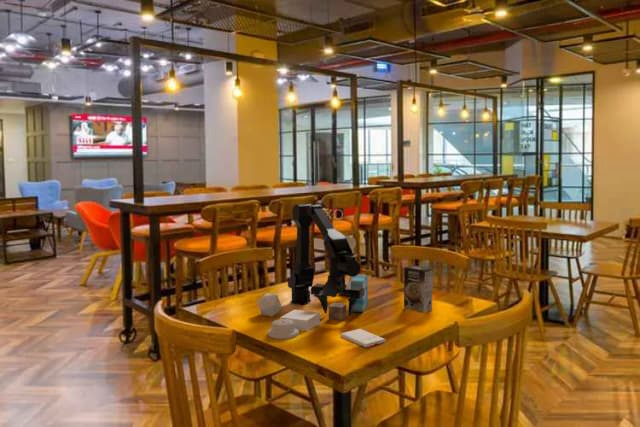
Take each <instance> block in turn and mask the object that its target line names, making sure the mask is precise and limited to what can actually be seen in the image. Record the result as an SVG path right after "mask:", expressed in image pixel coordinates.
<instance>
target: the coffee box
mask: <svg viewBox="0 0 640 427" xmlns="http://www.w3.org/2000/svg"><path fill="white" fill-rule="evenodd" d="M403 268H404V269H403V271H404V272H403V273H404V274H403V275H404V276H403V277H404V278H403V280H404V281H403V309H404V310H409V311H413V312H414V311H415V312H418V313H422V314H423V313H425V314H426V313H427V312H429V311H432V310H433V284H434V283H433V282H434V268H433V267H427V266H421V265H415V264H413V265H408V266H404V267H403Z"/></svg>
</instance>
